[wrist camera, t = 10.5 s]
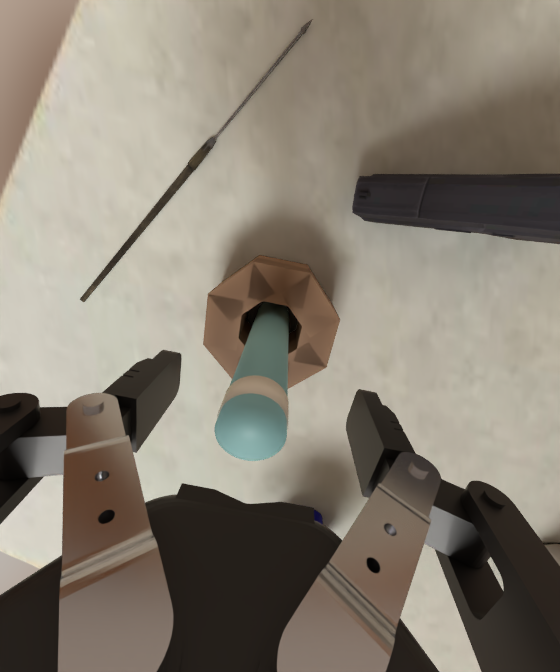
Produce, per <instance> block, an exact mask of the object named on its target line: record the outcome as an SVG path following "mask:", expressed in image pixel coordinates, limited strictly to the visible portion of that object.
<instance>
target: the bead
mask: <svg viewBox="0 0 560 672" xmlns="http://www.w3.org/2000/svg"><path fill="white" fill-rule="evenodd" d="M262 301H265V302H270V303H275V304H280V305H285V306H288V307H289V308H290V310H291V311H292V313H293V314H294V315H295V317H296V318H297V320H298V322H297V326H296V329H295V330H294V331H292V332H291V333H289V340H288V388H290V387H292V386H294V385H296V384H297V383H299V382H301V381H303V380H305V379H306V378H308V377H310V376H312V375H314V374H315V373H317V372H319V371H321V370H323V369H324V368H326V367H327V363H328V360H329V356H330V353H331V349H332V346H333V342H334V339H335V336H336V332H337V329H338V325H339V322H340V318H339V316H338V314H337V313H336V311H335V309H334V307H333V305H332V303H331V302H330V300H329V298H328V297H327V295H326V294H325V292H324V290H323V289H322V287H321V286H320V284H319V282H318V281H317V279H316V278H315V276H314V274H313V273H312V271H311V270H310V268H309V266H308V265H306V264H301V263H296V262H292V261H287V260H282V259H277V258H272V257H267V256H262V255H259V256H258V257H256V258H255V259H254V260H252V261H251V262H249V263H248V264H247V265H245V266H244V267H242V268H241V269H240V270H238V271H237V272H235V273H234V274H233V275H231V276H230V277H228V278H227V279H226V280H224V281H223V282H221V283H220V284H219V285H218V286H217V287H216V288H214V289H213V290H212V291H211V292H210V293H208V299H207V310H206V321H205V331H204V342H203V345H204V346H205V347H206V348H207V349H208V351H209V352H210V353H211V354H212V355H213V357H214V358H215V359H216V360H217V361H218V362H219V364H220V365H221V366H222V367H223V368H224V370H225V371H226V372H227V373H228V374H229V376H230V377H231V378H232V379H233V376H234V374H235V371H236V368H237V366H238V363H239V360H240V358H241V355H242V352H243V350H244V347H245V344H246V342H247V339H248V336H249V334H250V331H251V328H252V326H251V325H250V323H249V322H248V321H247V315H248V310H250V309H251V308H253V307H254V306H256V305H257V304H259V303H260V302H262Z"/></svg>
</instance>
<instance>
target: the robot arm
mask: <svg viewBox="0 0 560 672" xmlns="http://www.w3.org/2000/svg"><path fill="white" fill-rule="evenodd" d="M180 371H181V354H180V353H177V352H172V351H167V350H162V351H161V352H160V353H159V354H158V355H156V356H155V357H154V358H153V359H149V358H147V359H145V360H142V361H140V362H137V363H136V364H135V365H134V366H132V367H131V368H130V369H129V371H127V372H126V373H124V374H123V376H121V377H120V378H119V379H117V380H116V381H115V382H114V383H113V384H112V385H111V386H109V387H108V388H107V389H106V390H105V391H104V392H102V393H92V394H87V395H84V396H81V397H79V398H77V399H75V400H73V401H72V402H71V403H70V404H69V405H68V407H40V405H39V400H38V398H37V397H36V396H35V395H32V394H28V393H12V394H6V395H2V396H0V524H1V523H2V522H3V521H4V520H5V518H6V517H7V516H8V515H9V514H10V513H11V512H12V511H13V510H14V509H15V508H16V506H17V505H18V504H19V503H20V502H21V501H22V500H23V499H24V498H25V497H26V496H27V494H28V493H29V492H30V491H31V490H32V489H33V488H34V487H35V486H36V485H37V484H38V482H39V481H40V480H41V479H42V478H43V477H44V476H53V475H63V534H62V555H61V556H60V557H58V558H57V559H55V560H54V561H52V562H51V563H49V564H48V565H46V566H44V567H43V568H41V569H40V570H38V571H37V572H35V573H34V574H32V575H31V576H29V577H27V578H26V579H24V580H23V581H21V582H20V583H18V584H17V585H15V586H14V587H12V588H10V589H9V590H7V591H6V592H4V593H3V594H1V595H0V672H439V671H438V669H437V668H436V667H435V665H434V664H433V663H432V661H431V660H430V659H429V657H428V656H427V654H426V653H425V652H424V650H423V649H422V648H421V646H420V645H419V643H418V642H417V641H416V639H415V638H414V637H413V635H412V634H411V633H410V631H409V630H408V628H407V627H406V626H405V624H404V623H403V622H402V620H401V619H400V616H401V613H402V610H403V607H404V603H405V600H406V597H407V594H408V591H409V588H410V585H411V582H412V579H413V576H414V573H415V570H416V567H417V564H418V560H419V557H420V554H421V551H422V548H423V545H424V544H426V545H428V546H430V547H432V548H434V549H435V551H436V554H437V556H438V559H439V561H440V564H441V567H442V569H443V572H444V574H445V577H446V580H447V582H448V585H449V588H450V590H451V593H452V595H453V598H454V601H455V603H456V606H457V608H458V611H459V614H460V616H461V619H462V622H463V624H464V627H465V629H466V632H467V635H468V637H469V640H470V642H471V645H472V648H473V650H474V653H475V656H476V658H477V661H478V663H479V666H480V669H481V671H482V672H560V544H549V545H544V544H543V543H542V541H541V540H540V538H539V537H538V536H537V534H536V533H535V532H534V530H533V529H532V528H531V526H530V525H529V524H528V522H527V521H526V519H525V518H524V517H523V515H522V514H521V513H520V511H519V510H518V509H517V507H516V506H515V505H514V503H513V502H512V501H511V500H510V499H509V498H508V497H507V496H506V495H505V494H503V493H502V492H501V491H499V490H498V489H496V488H495V487H493V486H491V485H489V484H487V483H484V482H481V481H471V482H470V483H469V484H468V486H467V487H466V489H463V488H460V487H458V486H456V485H453V484H451V483H449V482H446V481H444V480H442V479H441V476H440V474H439V472H438V470H437V469H436V468H435V466H434V465H433V464H432V463H430V462H429V461H428V460H426V459H425V458H423V457H422V456H420V455H417V454H416V453H415V451H414V450H413V448H412V446H411V444H410V442H409V440H408V438H407V436H406V434H405V433H404V432H403V429H402V427H401V425H400V424H399V421H398V419H397V417H396V416H395V414H394V413H393V412H392V411H391V410H390V409H389V408H388V407H387V406H385V405H382V403H381V401H380V399H379V397H378V395H377V393H375V392H371V391H365V390H360V389H359V390H358V391H357V392H356V395H355V398H354V400H353V403H352V406H351V409H350V412H349V414H348V417H347V422H346V431H347V435H348V439H349V443H350V447H351V451H352V455H353V459H354V463H355V467H356V471H357V475H358V479H359V483H360V487H361V491H362V495H363V496H364V497H369V500H368V501H367V503H366V504H365V506H364V507H363V509H362V511H361V512H360V514H359V515H358V517H357V519H356V520H355V522H354V523H353V525H352V526H351V528H350V530H349V531H348V533H347V534H346V536H345V537H344V539H343V541H342V540H341V539H340V538H339V537H338V536H337V535H336V534H335V533H334V532H332V531H331V530H330V529H328V528H327V527H326V526H324V525H322V524H321V523H319V522H317V521H315V520H314V508H311V507H306V506H300V505H295V504H290V503H284V502H274V503H259V504H245V503H243V502H241V501H238V500H236V499H234V498H232V497H230V496H228V495H225V494H223V493H221V492H219V491H217V490H215V489H209V488H204V487H198V486H193V485H188V484H182V485H181V487H180V489H179V491H178V494H177V495H169V496H164V497H160V498H156V499H153V500H151V501H148V502H146V503H145V501H144V497H143V493H142V489H141V484H140V480H139V476H138V472H137V467H136V463H135V459H134V455H133V452H135V453H137V451H138V450H139V448H140V447H141V445H142V444H143V443H144V441H145V440H146V438H147V437H148V435H149V434H150V433H151V431H152V430H153V428H154V427H155V425H156V424H157V423H158V421H159V420H160V418H161V417H162V415H163V414H164V413H165V411H166V410H167V408H168V407H169V405H170V404H171V403H172V401H173V400H174V398H175V397H176V395H177V392H178V389H179V384H180ZM490 557H491V558H492V559H493V561H494V563H495V565H496V567H497V569H498V570H499V572H500V574H501V577H502V580H503V585H504V591H503V590H502V588H501V586H500V584H499V583H498V581H497V579H496V577H495V575H494V573H493V571H492V569H491V567H490V565H489V564H488V562H487V561H488V559H489V558H490Z"/></svg>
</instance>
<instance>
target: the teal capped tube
mask: <svg viewBox="0 0 560 672" xmlns="http://www.w3.org/2000/svg"><path fill="white" fill-rule="evenodd" d="M288 340H289V312H288V309H287V307H286V306H285V305H280V304H275V303H270V302H264V303H263V304H262V305H261V306H260V308H259V310H258V313H257V315H256V318H255V320H254V323H253V326H252V328H251V331H250V334H249V336H248V339H247V342H246V344H245V347H244V350H243V352H242V355H241V358H240V360H239V363H238V366H237V368H236V371H235V374H234V376H233V379H232V381H231V384H230V387H229V388H228V390H227V391H226V394H225V397H224V399H223V402H222V404H221V407H220V410H219V412H218V418H217V421H216V424H215V436H216V439H217V441H218V443H219V444H220V446H221V447H222V448H223V449H224V450H225V451H226V452H227V453H229V454H230V455H232V456H234V457H236V458H239V459H243V460H248V461H258V460H264V459H267V458H270V457H272V456H273V455H275V454H276V453H278V452H279V451H280V450H281V449H282V447H283V446H284V444H285V441H286V436H287V429H288V398H287V390H288Z"/></svg>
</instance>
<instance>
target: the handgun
mask: <svg viewBox="0 0 560 672" xmlns="http://www.w3.org/2000/svg"><path fill="white" fill-rule="evenodd" d="M352 210H353V213H354V214H356V215H358V216H360V217H361V218H362V219H363V220H364V221H369V222H376V223H385V224H395V225H405V226H414V227H424V228H434V229H437V230H446V231H456V232H465V233H471V232H473V233H482V234H489V235H493V236H499V237H505V238H511V239H516V240H525V241H535V242H545V243H554V244H560V174H513V175H446V174H374V175H372V176H360V177H359V179H358V181H357V185H356V190H355V194H354V201H353V206H352Z"/></svg>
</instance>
